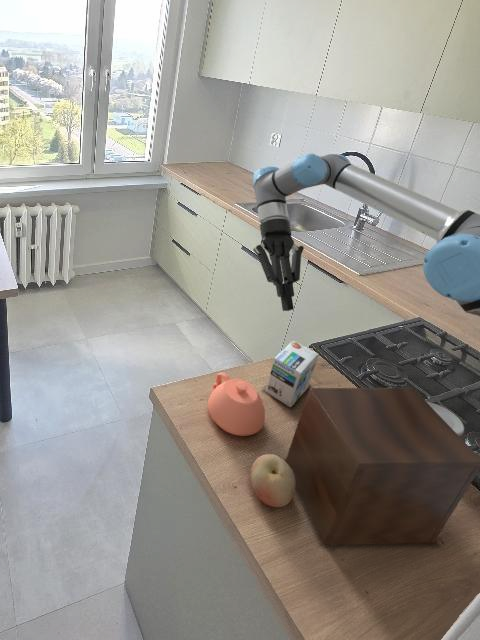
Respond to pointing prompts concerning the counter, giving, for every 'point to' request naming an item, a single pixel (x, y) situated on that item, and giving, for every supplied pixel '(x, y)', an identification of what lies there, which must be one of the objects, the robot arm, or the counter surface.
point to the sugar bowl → (236, 406)
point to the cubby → (378, 466)
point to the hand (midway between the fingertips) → (288, 309)
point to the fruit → (272, 480)
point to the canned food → (449, 418)
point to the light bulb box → (291, 373)
